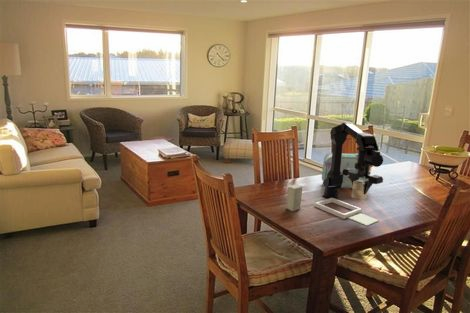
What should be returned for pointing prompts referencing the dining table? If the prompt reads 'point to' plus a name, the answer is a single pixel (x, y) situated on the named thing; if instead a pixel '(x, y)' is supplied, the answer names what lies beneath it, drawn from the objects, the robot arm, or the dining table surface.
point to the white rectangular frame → (355, 211)
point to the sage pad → (363, 219)
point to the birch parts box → (358, 190)
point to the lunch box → (341, 167)
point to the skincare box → (294, 197)
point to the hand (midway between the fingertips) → (359, 192)
